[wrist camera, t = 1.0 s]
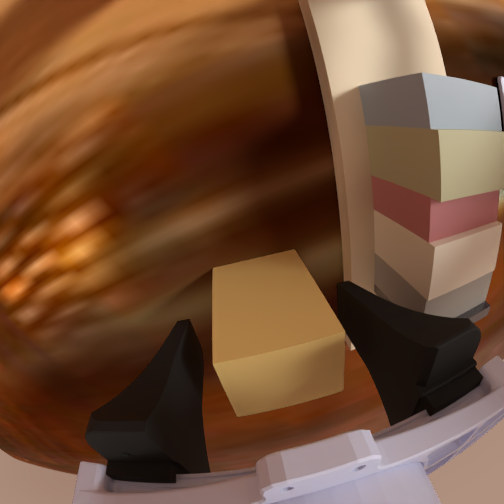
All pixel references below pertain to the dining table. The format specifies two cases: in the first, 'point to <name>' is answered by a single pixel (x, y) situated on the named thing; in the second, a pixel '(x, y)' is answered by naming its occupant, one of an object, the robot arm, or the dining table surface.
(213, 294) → the tan rectangular block
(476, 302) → the books
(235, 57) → the dining table surface
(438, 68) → the shelf board
